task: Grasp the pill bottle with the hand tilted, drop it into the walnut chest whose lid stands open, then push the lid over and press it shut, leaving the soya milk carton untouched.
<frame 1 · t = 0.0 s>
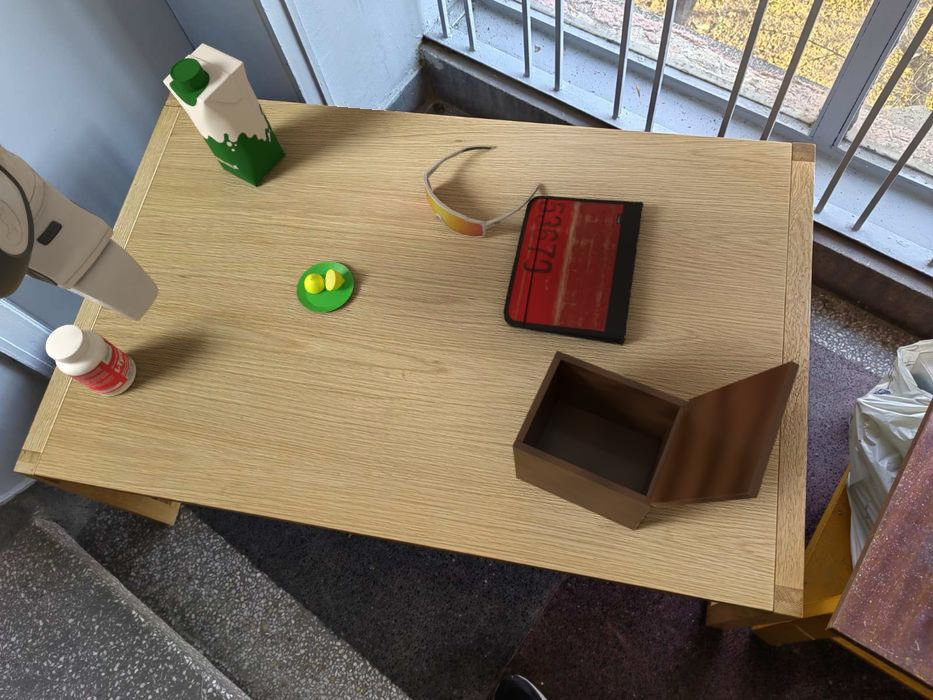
hand: (102, 297, 70), 22 cm above the table, tool pointing down, fingers open, 8 cm apart
sunglasses: (479, 196, 98), on the table
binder: (573, 268, 92), on the table
chest lid: (717, 440, 59), point 21 cm above the table, hinge at 110.0°
pill bottle: (116, 376, 92), on the table
plate with lemons: (326, 289, 95), on the table
chest: (592, 459, 81), on the table
soya milk: (255, 162, 105), on the table
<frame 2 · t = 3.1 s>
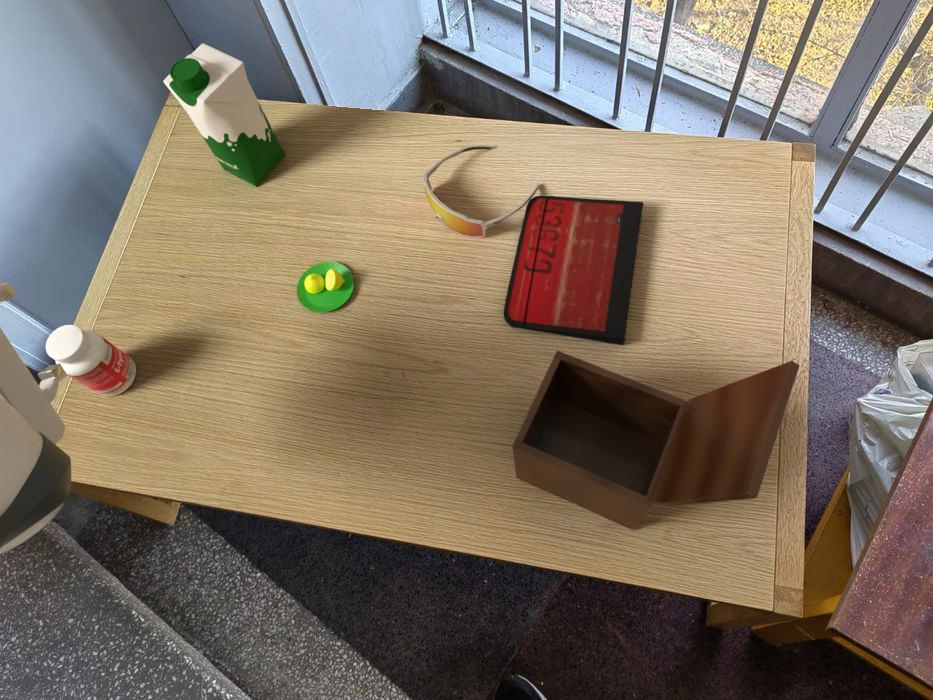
hand: (33, 331, 70), 22 cm above the table, tool tilted 50°, fingers open, 8 cm apart
nothing on the table moved.
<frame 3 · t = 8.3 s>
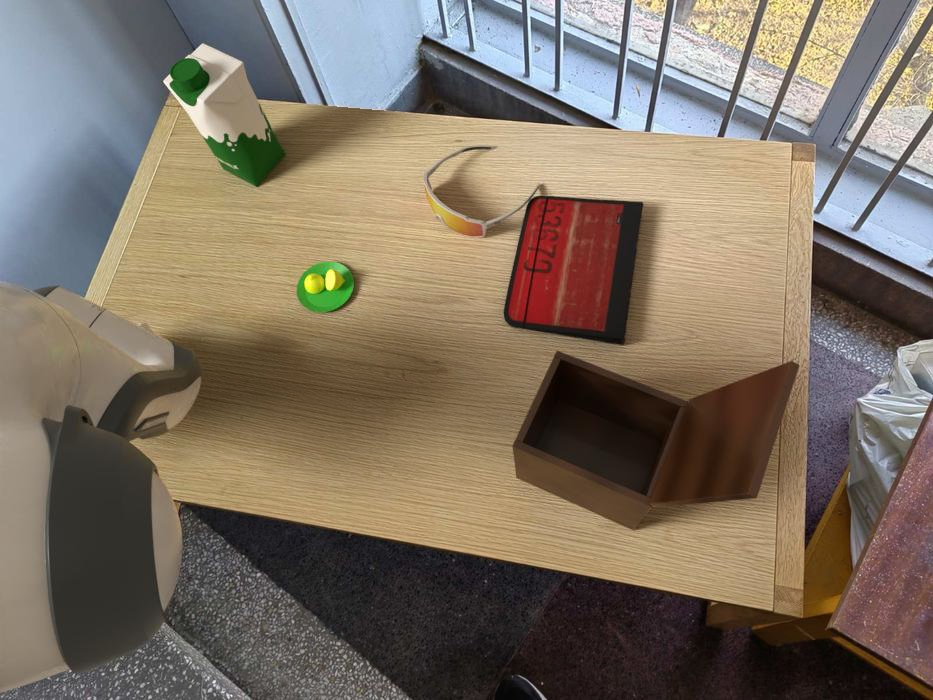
hand: (87, 354, 87), 6 cm above the table, tool tilted 45°, fingers closed on pill bottle, 6 cm apart
pill bottle: (116, 376, 92), on the table, touching gripper
everything else where it was.
when the fingers open (17 cm above the table, at t = 24.5 s): pill bottle drops 10 cm, resting on chest.
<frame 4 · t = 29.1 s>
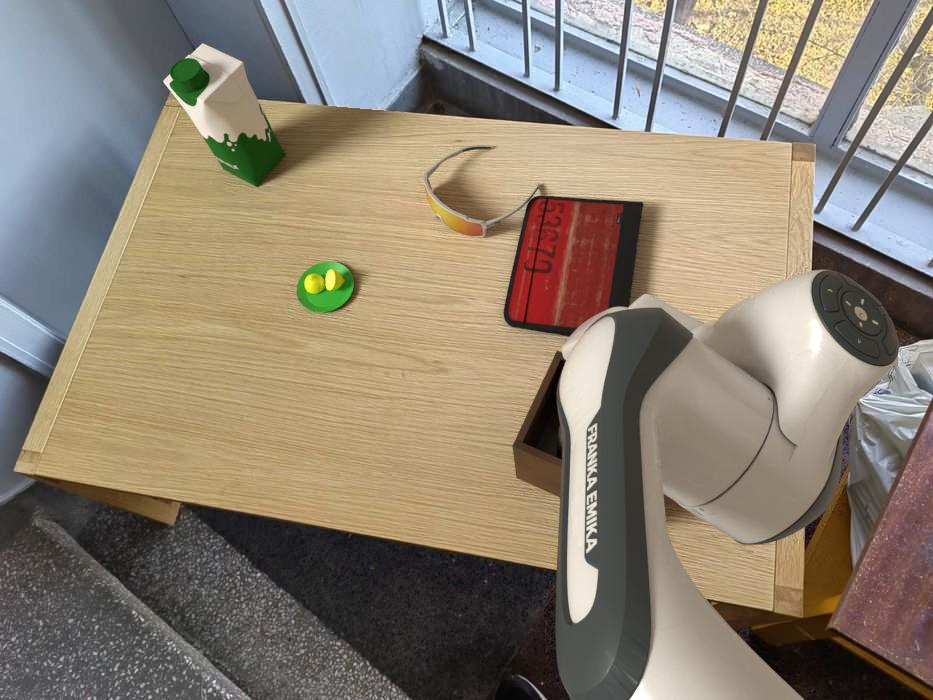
hand: (617, 424, 69), 13 cm above the table, tool tilted 25°, fingers open, 5 cm apart
chest lid: (724, 445, 59), point 21 cm above the table, hinge at 115.5°, touching gripper
pill bottle: (582, 455, 81), point 1 cm above the table, touching chest
everything else where it was.
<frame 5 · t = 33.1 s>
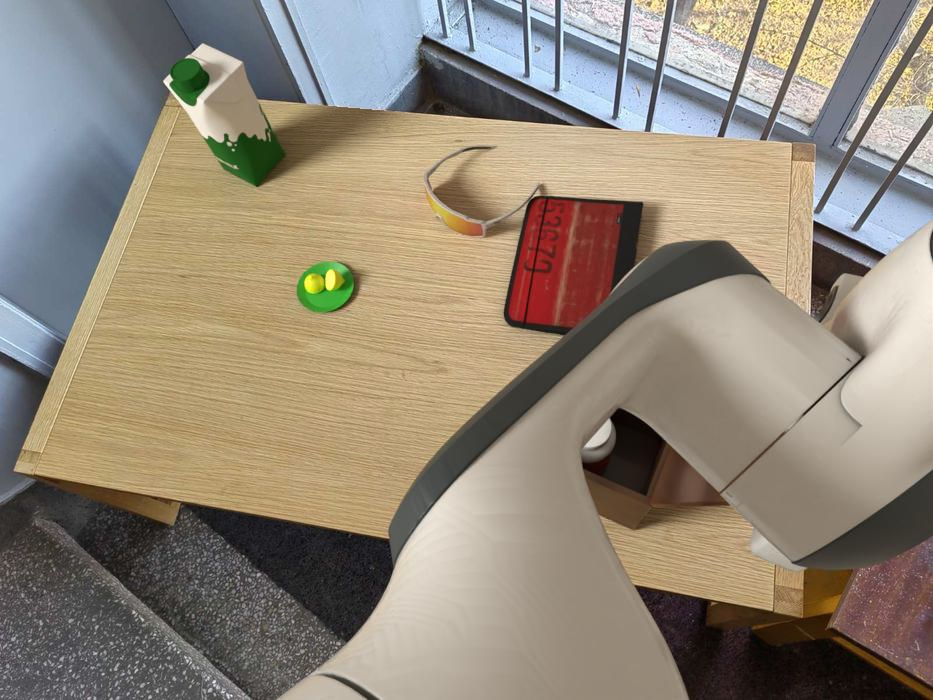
hand: (787, 456, 55), 24 cm above the table, tool pointing down, fingers closed, pressing on chest lid
chest lid: (722, 443, 59), point 21 cm above the table, hinge at 113.6°, touching gripper
everything else where it was.
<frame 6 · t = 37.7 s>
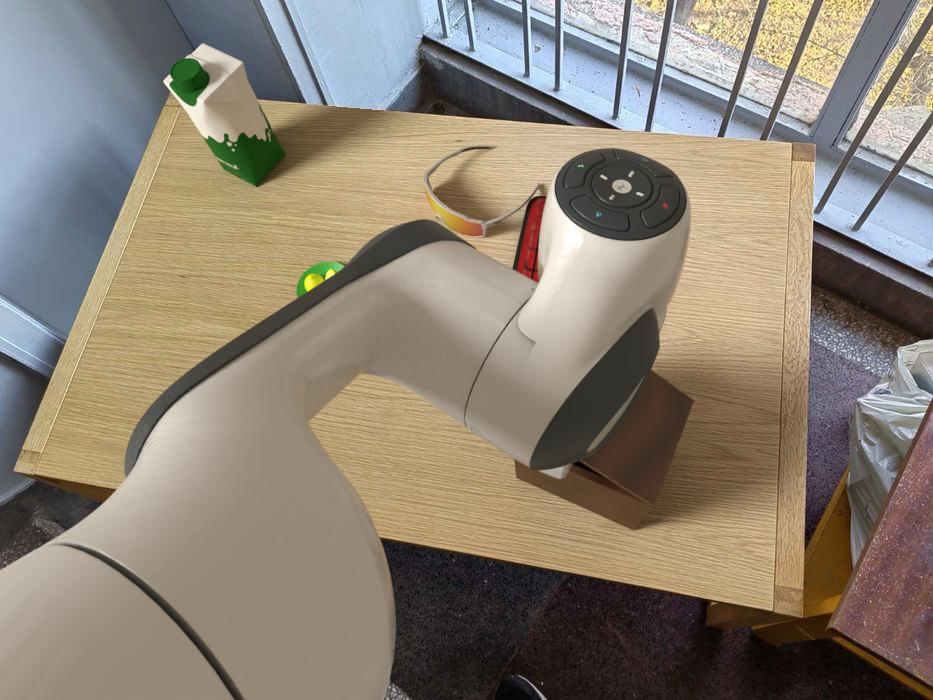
hand: (586, 389, 63), 21 cm above the table, tool pointing down, fingers closed
chest lid: (613, 411, 64), point 18 cm above the table, hinge at 32.8°, touching gripper
everything else where it was.
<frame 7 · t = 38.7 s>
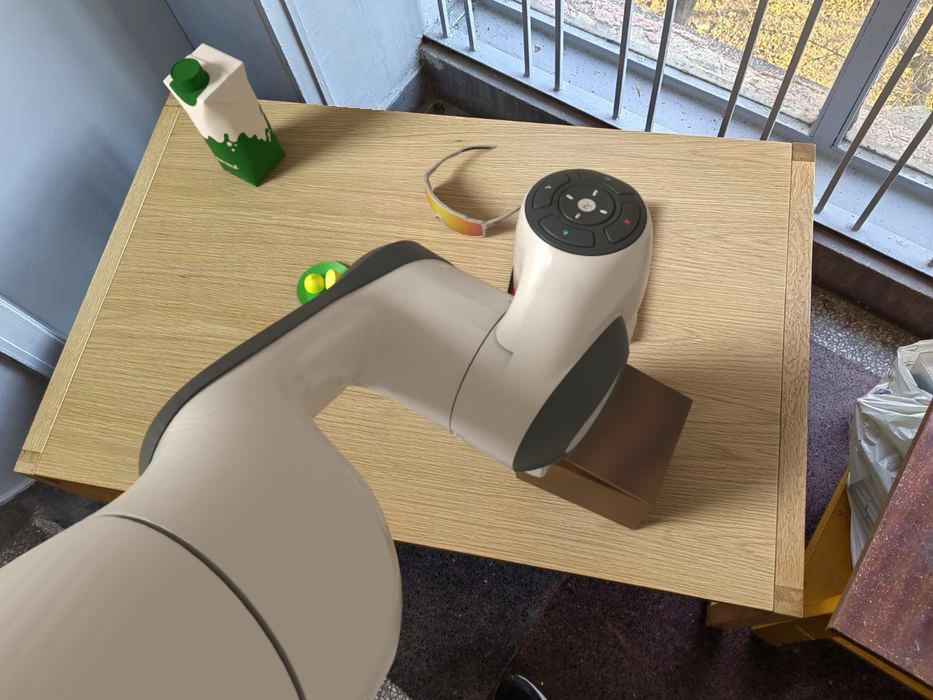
hand: (567, 391, 65), 18 cm above the table, tool pointing down, fingers closed, pressing on chest lid
chest lid: (603, 414, 66), point 16 cm above the table, hinge at 19.0°, touching gripper
everything else where it was.
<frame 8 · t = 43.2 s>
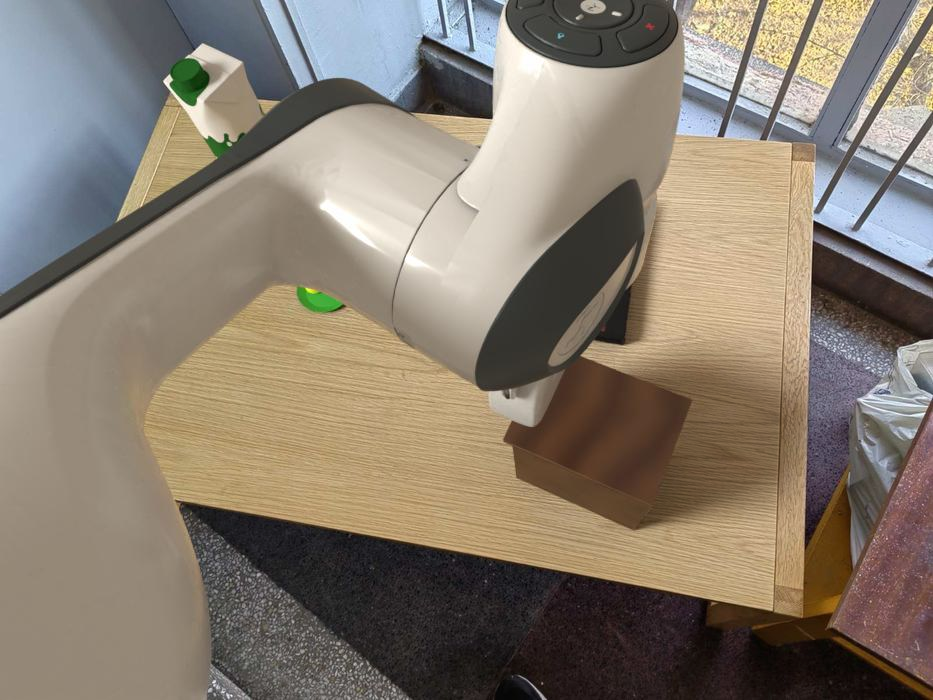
hand: (566, 331, 54), 31 cm above the table, tool pointing down, fingers closed
chest lid: (597, 420, 69), point 14 cm above the table, hinge at 0.2°
everything else where it was.
at the end: pill bottle inside the target area in the chest (1.2 cm from its centre), point 0.6 cm above the chest's base; chest lid at +0° (first picture: +110°); soya milk moved 0.2 cm from its start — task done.
